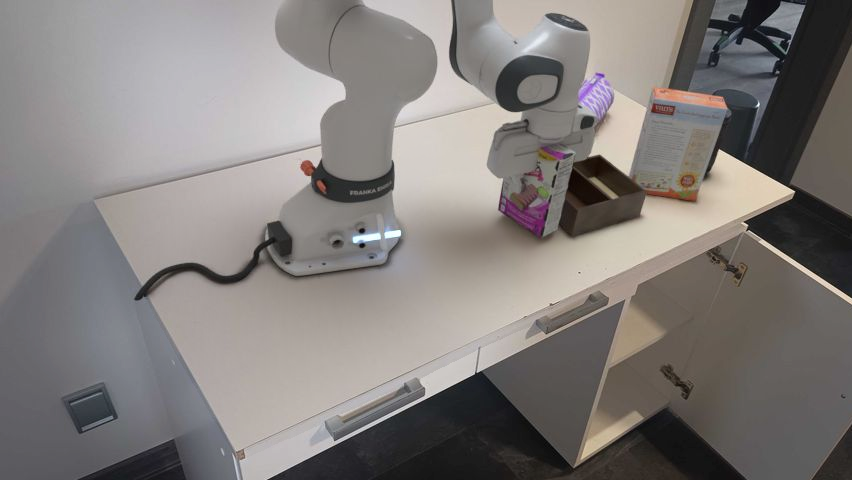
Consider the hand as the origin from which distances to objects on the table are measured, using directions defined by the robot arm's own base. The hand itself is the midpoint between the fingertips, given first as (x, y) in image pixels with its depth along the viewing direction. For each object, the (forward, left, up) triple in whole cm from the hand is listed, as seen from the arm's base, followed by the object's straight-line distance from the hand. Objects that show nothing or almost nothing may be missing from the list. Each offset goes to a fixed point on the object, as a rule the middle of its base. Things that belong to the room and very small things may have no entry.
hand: (534, 187), depth 121 cm
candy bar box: (0, 0, -7) cm, 7 cm away
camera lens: (+46, +3, -9) cm, 47 cm away
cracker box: (+34, 0, -9) cm, 35 cm away
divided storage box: (+15, +2, -9) cm, 17 cm away
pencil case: (+35, +29, -9) cm, 46 cm away
